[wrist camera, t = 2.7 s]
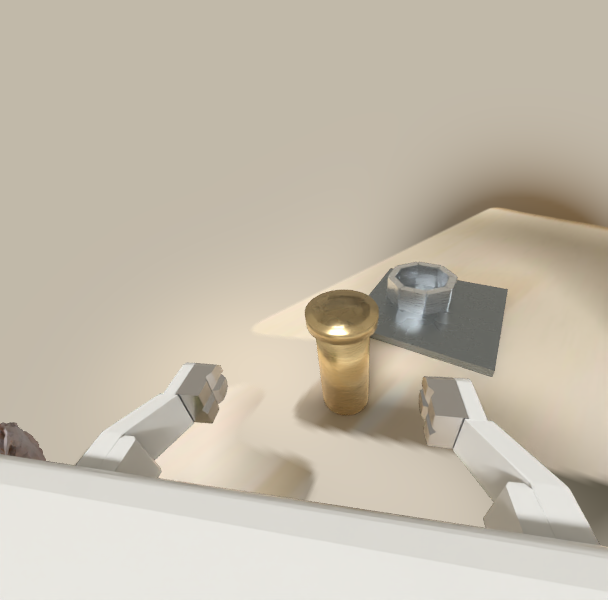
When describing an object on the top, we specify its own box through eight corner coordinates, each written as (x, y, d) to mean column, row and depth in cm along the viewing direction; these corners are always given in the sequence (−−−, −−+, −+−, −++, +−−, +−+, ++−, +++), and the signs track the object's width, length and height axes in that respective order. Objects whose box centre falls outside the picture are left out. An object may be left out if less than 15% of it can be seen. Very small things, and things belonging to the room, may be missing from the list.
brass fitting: (383, 385, 31) (389, 299, 24) (359, 432, 27) (359, 343, 20) (334, 365, 34) (327, 284, 28) (306, 404, 30) (290, 320, 24)
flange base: (505, 294, 42) (514, 268, 39) (492, 377, 30) (503, 347, 28) (390, 272, 51) (391, 250, 49) (346, 329, 40) (345, 304, 37)
